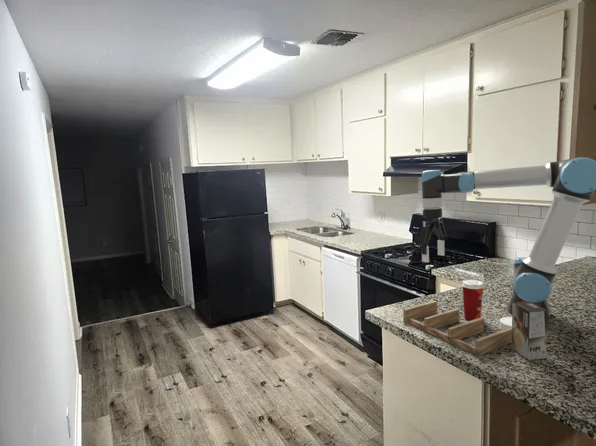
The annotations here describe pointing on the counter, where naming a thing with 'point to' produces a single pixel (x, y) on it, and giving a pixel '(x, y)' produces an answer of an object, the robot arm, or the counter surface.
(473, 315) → the coffee cup
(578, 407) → the counter surface
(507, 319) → the white round dish
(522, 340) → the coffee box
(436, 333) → the oak rack
